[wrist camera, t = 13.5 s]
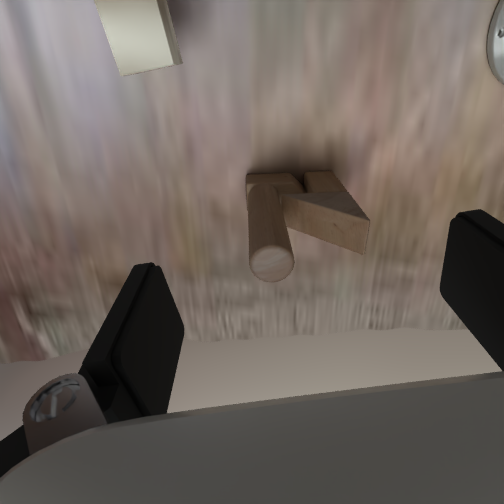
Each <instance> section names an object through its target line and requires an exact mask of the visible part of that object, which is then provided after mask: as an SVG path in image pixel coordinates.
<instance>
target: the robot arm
mask: <svg viewBox="0 0 504 504" xmlns="http://www.w3.org/2000/svg"><path fill="white" fill-rule="evenodd" d="M498 31H499V33H498ZM487 54H488V61H489V65H490V67H491V70H492V72H493V74H494V75H495V77H496V78H497V79H498V81H499V82H501V83H502V84H503V85H504V0H500V2H499V4H498V6H497V8H496V10H495V13H494V16H493V18H492V21H491V24H490V29H489V34H488V41H487ZM440 292H441V295H442V297H443V298H444V300H445V301H446V302H447V303H448V305H449V306H450V307H451V308H452V309H453V311H454V312H455V313H456V314H457V316H458V317H459V318H460V319H461V320H462V322H463V323H464V324H465V325H466V327H467V328H468V329H469V330H470V332H471V333H472V334H473V335H474V336H475V338H476V339H477V340H478V341H479V342H480V344H481V345H482V346H483V347H484V349H485V350H486V351H487V352H488V354H489V355H490V356H491V357H492V358H493V360H494V361H495V362H496V363H497V365H498V366H499V367H500V368H501V369H502V372H493V373H484V374H476V375H467V376H459V377H451V378H442V379H433V380H425V381H416V382H408V383H400V384H392V385H385V386H375V387H367V388H359V389H351V390H343V391H335V392H327V393H319V394H311V395H303V396H295V397H287V398H279V399H272V400H264V401H256V402H248V403H240V404H233V405H225V406H218V407H210V408H202V409H195V410H188V411H181V412H174V413H167V409H168V405H169V400H170V395H171V391H172V386H173V382H174V378H175V373H176V369H177V364H178V360H179V355H180V351H181V346H182V341H183V337H184V325H183V322H182V319H181V317H180V314H179V312H178V309H177V307H176V304H175V302H174V299H173V297H172V294H171V292H170V289H169V287H168V284H167V282H166V279H165V277H164V274H163V272H162V269H161V267H160V266H155V264H154V263H152V262H151V263H144V264H138V265H135V266H134V267H133V268H132V270H131V272H130V274H129V276H128V278H127V280H126V282H125V283H124V285H123V287H122V289H121V291H120V293H119V295H118V297H117V298H116V300H115V302H114V304H113V306H112V308H111V310H110V312H109V313H108V315H107V317H106V319H105V321H104V323H103V325H102V327H101V328H100V330H99V332H98V334H97V336H96V338H95V340H94V342H93V343H92V345H91V347H90V349H89V351H88V353H87V355H86V357H85V359H84V361H83V363H82V366H81V368H80V370H79V372H78V374H76V373H73V374H72V373H71V374H65V375H62V376H59V377H57V378H55V379H53V380H51V381H49V382H48V383H46V384H45V385H44V386H42V387H41V388H40V389H39V390H38V391H37V392H36V393H35V394H34V395H33V396H32V397H31V399H30V400H29V401H28V403H27V404H26V406H25V409H24V411H23V425H22V426H21V427H19V428H18V429H17V430H15V431H14V432H13V433H11V434H10V435H8V436H7V437H6V438H4V439H3V440H2V441H0V504H504V224H503V223H502V222H500V221H499V220H497V219H495V218H494V217H492V216H491V215H489V214H488V213H486V212H485V211H483V210H481V209H478V210H472V211H465V212H460V213H458V214H457V215H456V217H455V218H453V219H452V220H451V222H450V227H449V233H448V239H447V245H446V251H445V257H444V263H443V270H442V276H441V282H440Z"/></svg>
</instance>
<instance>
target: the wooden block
mask: <svg viewBox="0 0 504 504" xmlns="http://www.w3.org/2000/svg"><path fill="white" fill-rule="evenodd" d="M246 200H247V210H248V225H249V265H250V269H251V271H252V273H253V274H254V275H255V276H256V277H257V278H258V279H260V280H262V281H265V282H277V281H280V280H283V279H285V278H286V277H287V276H288V275H289V274H290V273H291V271H292V270H293V267H294V263H295V262H294V256H293V252H292V248H291V244H290V239H289V235H288V231H287V227H289V228H292V229H294V230H297V231H300V232H303V233H305V234H308V235H311V236H313V237H316V238H319V239H322V240H324V241H327V242H330V243H332V244H335V245H338V246H340V247H343V248H346V249H349V250H351V251H354V252H357V253H359V254H362V255H364V253H365V248H366V243H367V237H368V231H369V225H370V220H369V218H368V217H367V216H366V215H365V213H364V212H363V211H362V209H361V208H360V207H359V205H358V204H357V203H356V201H355V200H354V199H353V198H352V196H351V195H350V194H349V192H347V190H346V189H345V187H344V186H343V185H342V184H341V182H340V181H339V180H338V178H337V177H336V176H335V174H334V173H333V172H332V171H316V172H305V174H304V184H303V185H302V184H301V183H300V182H299V181H298V180H297V179H296V178H294V177H293V176H292V175H291V174H290V173H271V174H248V175H246Z"/></svg>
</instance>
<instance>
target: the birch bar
mask: <svg viewBox="0 0 504 504" xmlns="http://www.w3.org/2000/svg"><path fill="white" fill-rule="evenodd" d="M94 2H95V4H96V7H97V10H98V13H99V16H100V19H101V21H102V24H103V27H104V30H105V33H106V36H107V38H108V41H109V44H110V47H111V50H112V53H113V55H114V58H115V61H116V64H117V67H118V70H119V72H120V75H121V76H126V75H132V74H138V73H142V72H147V71H152V70H156V69H161V68H165V67H170V66H174V65H179V64H183V62H182V58H181V54H180V50H179V46H178V42H177V39H176V35H175V31H174V27H173V23H172V19H171V15H170V11H169V8H168V4H167V0H94Z"/></svg>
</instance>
